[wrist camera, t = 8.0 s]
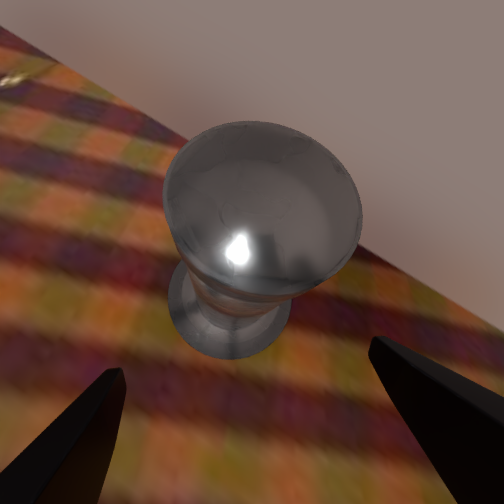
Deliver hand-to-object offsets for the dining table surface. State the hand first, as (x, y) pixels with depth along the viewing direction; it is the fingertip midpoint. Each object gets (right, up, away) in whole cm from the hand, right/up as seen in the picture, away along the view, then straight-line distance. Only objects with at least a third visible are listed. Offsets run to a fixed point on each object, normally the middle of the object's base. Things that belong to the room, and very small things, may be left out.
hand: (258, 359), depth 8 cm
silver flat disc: (-2, +1, +9) cm, 10 cm away
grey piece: (-2, +1, +8) cm, 8 cm away
